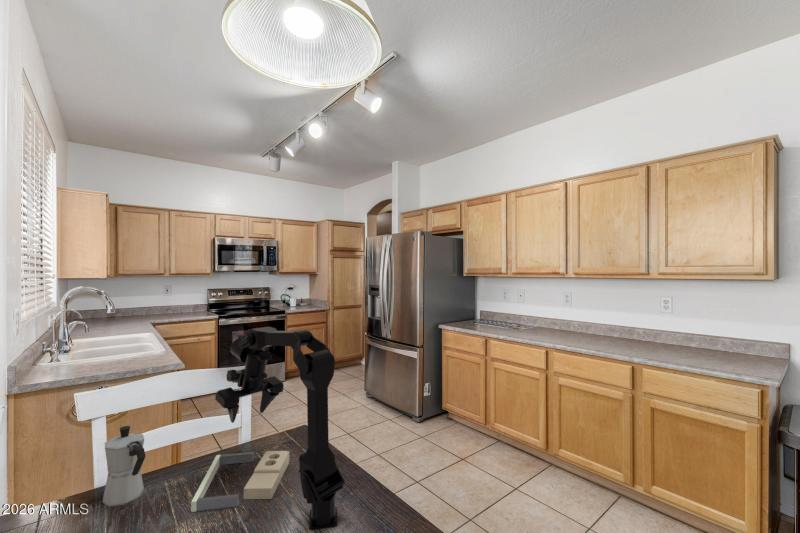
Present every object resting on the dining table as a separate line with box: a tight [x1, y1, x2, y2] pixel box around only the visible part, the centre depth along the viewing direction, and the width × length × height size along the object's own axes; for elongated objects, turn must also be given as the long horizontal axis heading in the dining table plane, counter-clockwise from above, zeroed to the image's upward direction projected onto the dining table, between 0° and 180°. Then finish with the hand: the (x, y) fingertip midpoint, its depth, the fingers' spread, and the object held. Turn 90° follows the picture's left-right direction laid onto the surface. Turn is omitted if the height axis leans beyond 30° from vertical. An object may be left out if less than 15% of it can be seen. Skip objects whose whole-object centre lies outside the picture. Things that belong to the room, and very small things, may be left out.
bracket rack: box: [190, 451, 255, 513], centre depth 102 cm, size 23×11×2 cm, turn 12°
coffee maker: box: [101, 425, 146, 508], centre depth 95 cm, size 15×9×18 cm, turn 62°
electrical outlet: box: [243, 450, 290, 500], centre depth 105 cm, size 7×4×18 cm
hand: (247, 417), depth 109 cm, fingers open, 9 cm apart
